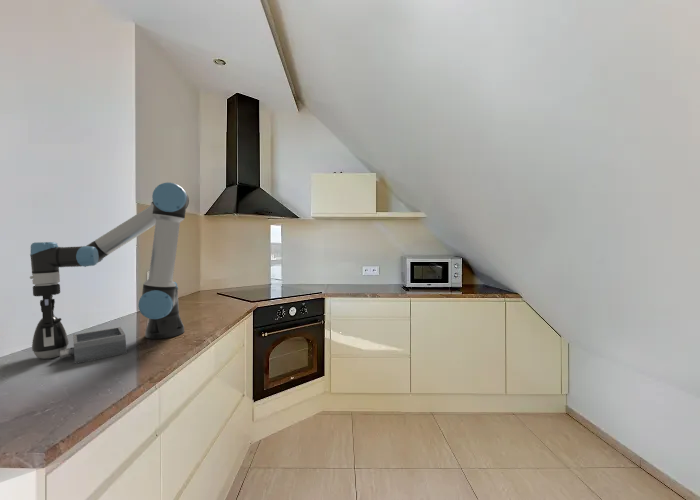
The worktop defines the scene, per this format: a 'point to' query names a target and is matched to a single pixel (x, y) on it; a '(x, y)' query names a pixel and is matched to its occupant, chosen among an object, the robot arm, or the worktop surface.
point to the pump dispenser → (59, 340)
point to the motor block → (96, 345)
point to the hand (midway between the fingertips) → (49, 341)
